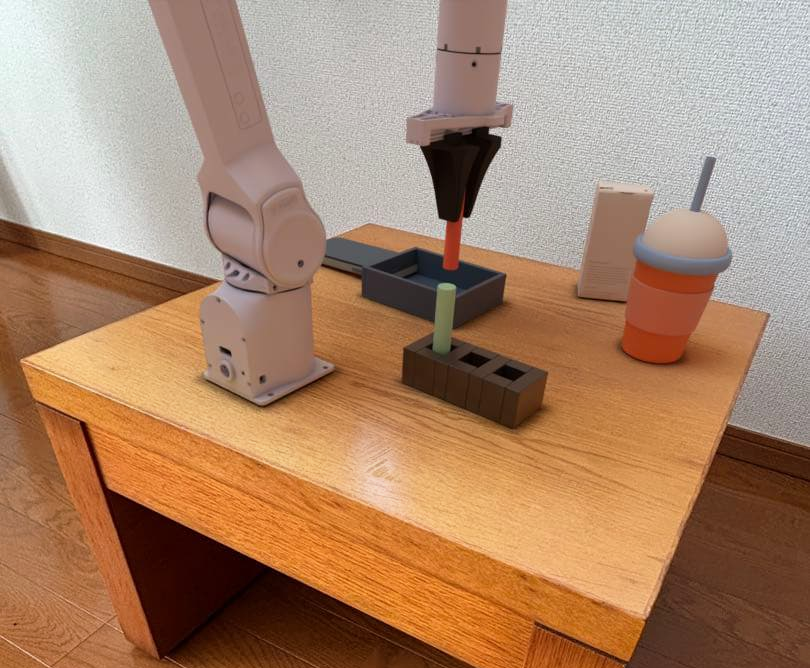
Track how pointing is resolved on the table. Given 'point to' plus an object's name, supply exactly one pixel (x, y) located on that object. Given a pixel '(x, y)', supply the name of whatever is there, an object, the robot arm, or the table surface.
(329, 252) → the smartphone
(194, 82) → the robot arm
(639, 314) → the cup with straw
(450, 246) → the red rod
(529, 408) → the straw rack
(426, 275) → the bin
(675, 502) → the table surface
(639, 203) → the cosmetic box
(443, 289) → the green rod
